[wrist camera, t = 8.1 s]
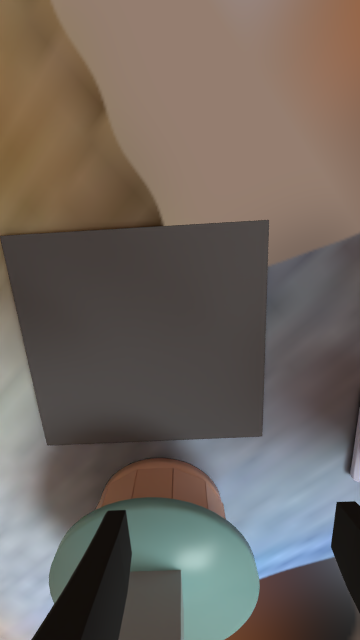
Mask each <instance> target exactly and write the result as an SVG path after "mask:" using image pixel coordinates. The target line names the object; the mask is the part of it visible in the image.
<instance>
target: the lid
mask: <svg viewBox="0 0 360 640" xmlns="http://www.w3.org/2000/svg"><path fill="white" fill-rule="evenodd" d="M110 510H126V515H127V522H128V529H129V536H130V543H131V550H132V558H131V567H130V576H129V584H128V593H127V598H126V604H125V609H124V614H123V619H122V624H121V629H120V634H119V639H118V640H224V639H226V638H227V637H229V636H230V635H232V634H233V633H234V632H236V631H237V630H238V629H239V628H240V627H241V626H242V625H243V624H244V623H245V622H246V620H247V619H248V618H249V617H250V615H251V613H252V611H253V610H254V608H255V606H256V602H257V599H258V595H259V577H258V572H257V568H256V564H255V560H254V555H253V553H252V550H251V548H250V546H249V544H248V542H247V541H246V539H245V538H244V536H243V535H242V534H241V533H240V532H239V531H238V530H237V529H236V527H234V526H233V525H232V524H231V523H230V522H228V521H227V520H226V519H224V518H223V517H221V516H220V515H218V514H216V513H215V512H213V511H211V510H208V509H206V508H204V507H202V506H199V505H196V504H193V503H190V502H186V501H181V500H177V499H170V498H161V497H144V498H133V499H128V500H122V501H118V502H115V503H111V504H108V505H105V506H103V507H101V508H99V509H96V510H94V511H92V512H91V513H89V514H87V515H86V516H84V517H83V518H81V519H80V520H79V521H78V522H77V523H75V524H74V525H73V526H72V527H71V528H70V530H69V531H68V532H67V533H66V535H65V536H64V538H63V539H62V541H61V543H60V545H59V547H58V550H57V552H56V555H55V557H54V560H53V562H52V565H51V569H50V573H49V587H50V593H51V596H52V599H53V602H54V604H55V602H56V601H57V599H58V598H59V596H60V594H61V593H62V591H63V590H64V588H65V586H66V585H67V583H68V581H69V579H70V578H71V576H72V574H73V573H74V571H75V569H76V567H77V566H78V564H79V562H80V561H81V559H82V557H83V555H84V553H85V552H86V550H87V548H88V546H89V544H90V543H91V541H92V539H93V537H94V535H95V533H96V531H97V529H98V527H99V525H100V524H101V522H102V519H103V517H104V515H105V513H106V512H107V511H110Z"/></svg>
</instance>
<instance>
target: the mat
mask: <svg viewBox="0 0 360 640" xmlns="http://www.w3.org/2000/svg"><path fill="white" fill-rule="evenodd" d="M268 236H269V220H261V221H243V222H226V223H209V224H192V225H176V226H159V227H142V228H125V229H108V230H91V231H75V232H58V233H41V234H24V235H7V236H0V239H1V243H2V248H3V252H4V256H5V261H6V265H7V270H8V274H9V279H10V283H11V287H12V292H13V296H14V301H15V305H16V310H17V314H18V318H19V323H20V327H21V332H22V336H23V341H24V345H25V349H26V354H27V358H28V363H29V367H30V372H31V376H32V380H33V385H34V389H35V394H36V398H37V403H38V407H39V411H40V416H41V420H42V425H43V429H44V434H45V438H46V442H47V445H71V444H94V443H118V442H142V441H165V440H189V439H212V438H236V437H259V436H262V427H263V395H264V363H265V331H266V299H267V268H268Z"/></svg>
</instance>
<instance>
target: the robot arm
mask: <svg viewBox="0 0 360 640" xmlns="http://www.w3.org/2000/svg"><path fill="white" fill-rule="evenodd" d="M350 475H351V477H352V478H353V480H354V481H356V482H360V409H359V416H358V423H357V430H356V437H355V444H354V451H353V458H352V465H351V472H350ZM331 548H332V550H333V553H334V556H335V558H336V561H337V563H338V566H339V568H340V571H341V573H342V576H343V578H344V581H345V583H346V586H347V588H348V590H349V592H350V594H351V596H352V598H353V600H354V602H355V604H356V606H357V608H358V610H359V613H360V506H359V505H358V504H357V503H356V502H355V501H353V502H337V504H336V512H335V520H334V528H333V535H332V543H331ZM131 558H132V550H131V543H130V536H129V529H128V522H127V515H126V510H110V511H107V512H106V513H105V515H104V517H103V519H102V522H101V524H100V525H99V527H98V529H97V531H96V533H95V535H94V537H93V539H92V541H91V543H90V544H89V546H88V548H87V550H86V552H85V553H84V555H83V557H82V559H81V561H80V562H79V564H78V566H77V567H76V569H75V571H74V573H73V574H72V576H71V578H70V579H69V581H68V583H67V585H66V586H65V588H64V590H63V591H62V593H61V594H60V596H59V598H58V599H57V601H56V602H55V604H54V605H53V607H52V609H51V610H50V612H49V613H48V615H47V617H46V618H45V620H44V621H43V623H42V624H41V626H40V628H39V629H38V631H37V632H36V634H35V635H34V637H33V638H32V640H118V639H119V634H120V629H121V624H122V619H123V614H124V609H125V604H126V598H127V593H128V584H129V576H130V567H131Z"/></svg>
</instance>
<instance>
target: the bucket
mask: <svg viewBox="0 0 360 640" xmlns="http://www.w3.org/2000/svg"><path fill="white" fill-rule="evenodd" d="M144 497H161V498H170V499H177V500H181V501H186V502H190V503H193V504H196V505H199V506H202V507H204V508H206V509H208V510H211V511H213V512H215V513H216V514H218V515H220V516H221V517H223V518H224V519H226V518H225V512H224V506H223V503H222V502H221V497H220V494H219V491H218V489H217V487H216V485H215V484H214V482H213V481H212V480H211V479H210V478H209V477H208V476H207V475H206V474H205V473H204V472H203V471H201V470H200V469H198V468H196V467H195V466H193V465H190V464H188V463H185V462H183V461H179V460H175V459H168V458H152V459H145V460H140V461H137V462H134V463H132V464H129V465H127V466H125V467H124V468H122V469H121V470H119V471H118V472H117V473H116V474H114V475H113V476H112V478H111V479H110V480H109V481H108V483H107V484H106V486H105V488H104V490H103V493H102V496H101V499H100V501H99V503H98V505H97V507H96V509H99V508H101V507H103V506H105V505H108V504H111V503H115V502H118V501H122V500H128V499H133V498H144ZM96 509H95V510H96Z"/></svg>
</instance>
